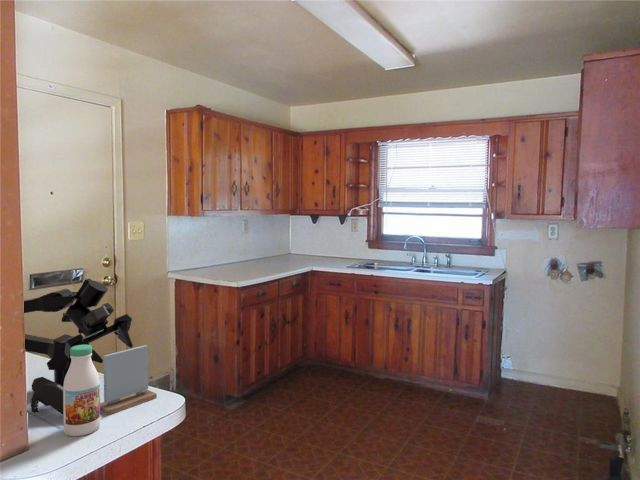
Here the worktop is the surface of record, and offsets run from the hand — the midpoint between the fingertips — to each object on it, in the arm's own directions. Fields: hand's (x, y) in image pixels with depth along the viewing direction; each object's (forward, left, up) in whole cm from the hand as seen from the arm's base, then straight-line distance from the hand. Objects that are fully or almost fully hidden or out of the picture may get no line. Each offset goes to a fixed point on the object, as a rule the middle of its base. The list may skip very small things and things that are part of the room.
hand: (117, 354), depth 126 cm
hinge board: (+7, -1, -12) cm, 14 cm away
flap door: (+7, -1, -10) cm, 12 cm away
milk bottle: (+12, -16, -12) cm, 23 cm away
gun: (0, -16, -12) cm, 20 cm away
